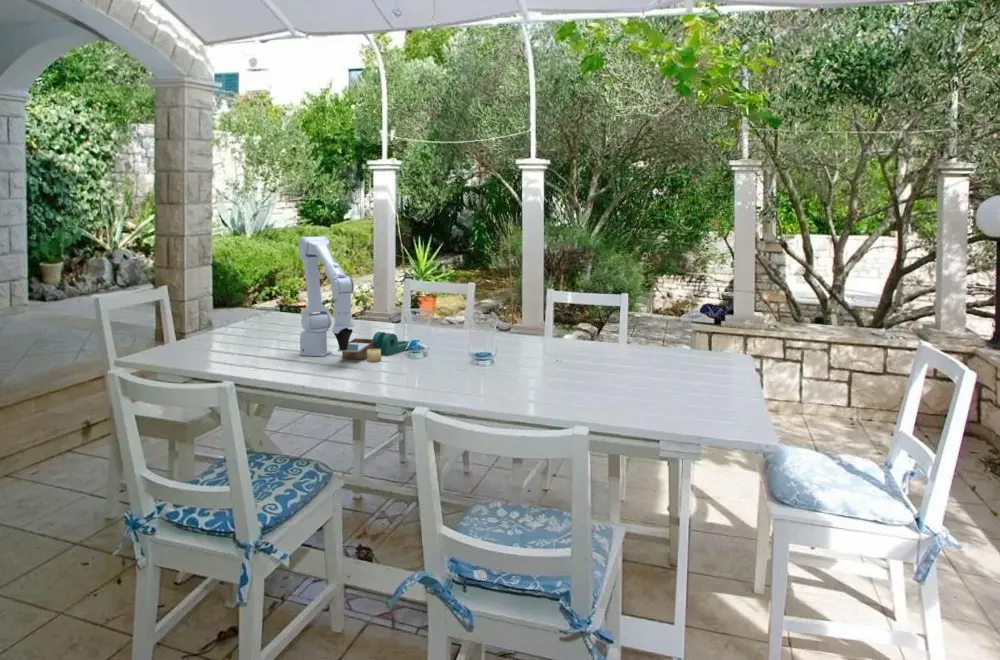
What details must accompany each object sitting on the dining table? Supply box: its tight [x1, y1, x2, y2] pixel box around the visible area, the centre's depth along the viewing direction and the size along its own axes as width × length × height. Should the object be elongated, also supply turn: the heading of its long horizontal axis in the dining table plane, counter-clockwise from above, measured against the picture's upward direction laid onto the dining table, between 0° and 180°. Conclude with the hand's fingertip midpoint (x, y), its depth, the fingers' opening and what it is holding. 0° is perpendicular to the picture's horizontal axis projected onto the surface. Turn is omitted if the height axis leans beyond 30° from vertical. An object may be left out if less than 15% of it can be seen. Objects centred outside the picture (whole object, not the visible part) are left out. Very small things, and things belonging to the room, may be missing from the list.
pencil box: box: [341, 337, 374, 360], centre depth 279 cm, size 9×14×5 cm, turn 171°
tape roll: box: [366, 349, 382, 363], centre depth 270 cm, size 5×5×4 cm
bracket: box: [372, 331, 410, 356], centre depth 287 cm, size 18×7×8 cm, turn 150°
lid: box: [337, 343, 368, 353], centre depth 273 cm, size 8×13×3 cm, turn 171°
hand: (343, 350), depth 262 cm, fingers closed
